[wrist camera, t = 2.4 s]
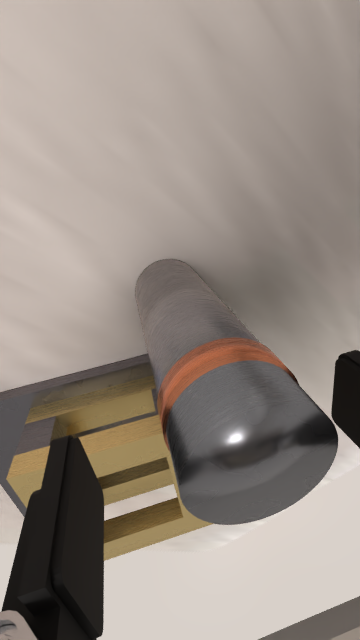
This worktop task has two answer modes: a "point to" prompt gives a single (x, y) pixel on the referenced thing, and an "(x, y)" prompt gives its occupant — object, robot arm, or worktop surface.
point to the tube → (227, 404)
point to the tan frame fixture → (97, 446)
